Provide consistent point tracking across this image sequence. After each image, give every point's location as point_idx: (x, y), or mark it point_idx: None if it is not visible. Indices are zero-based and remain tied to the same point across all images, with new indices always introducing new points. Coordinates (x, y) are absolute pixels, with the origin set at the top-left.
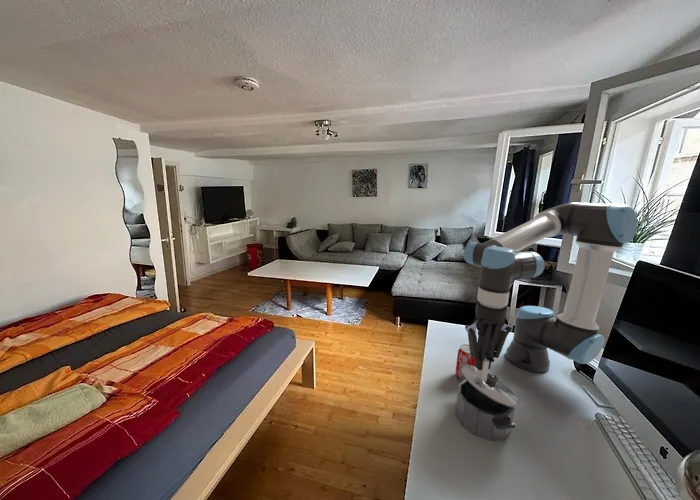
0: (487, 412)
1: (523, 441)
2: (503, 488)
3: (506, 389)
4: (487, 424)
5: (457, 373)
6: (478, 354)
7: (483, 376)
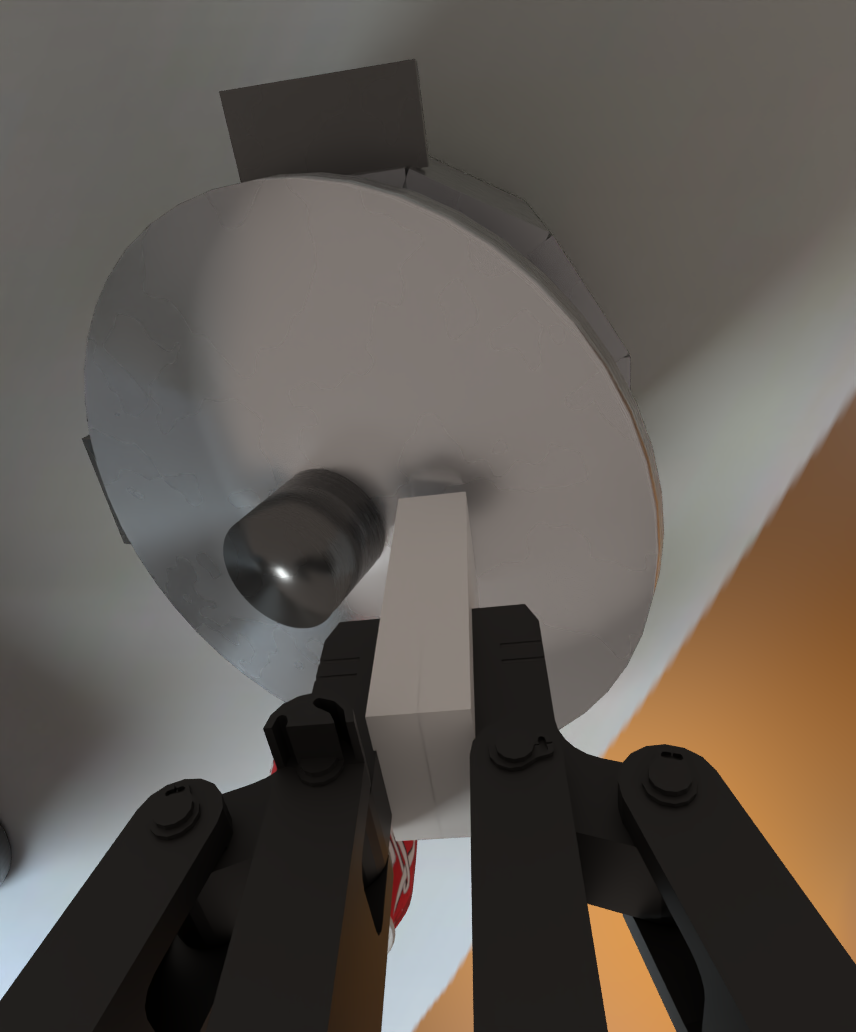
0: None
1: (167, 150)
2: None
3: (152, 482)
4: (459, 182)
5: None
6: (664, 859)
7: (449, 532)
